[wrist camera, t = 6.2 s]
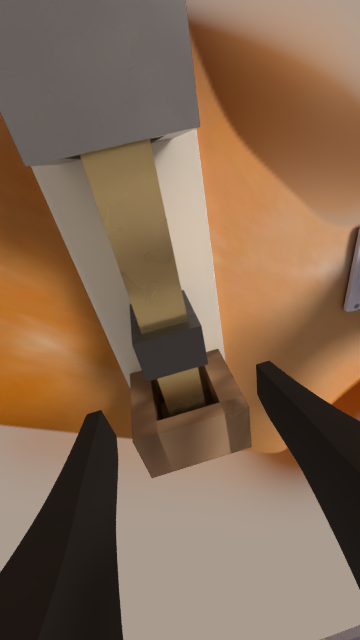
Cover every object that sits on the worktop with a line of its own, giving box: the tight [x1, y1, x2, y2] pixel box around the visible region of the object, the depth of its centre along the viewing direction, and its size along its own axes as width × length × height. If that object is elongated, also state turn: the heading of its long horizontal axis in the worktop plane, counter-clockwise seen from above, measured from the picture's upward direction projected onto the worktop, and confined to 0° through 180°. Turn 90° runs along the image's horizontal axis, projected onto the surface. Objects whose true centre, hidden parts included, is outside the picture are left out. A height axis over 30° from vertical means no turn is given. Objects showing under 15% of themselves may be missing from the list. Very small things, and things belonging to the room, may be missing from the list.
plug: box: [80, 139, 208, 417], centre depth 16 cm, size 4×19×5 cm, turn 11°
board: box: [31, 129, 225, 388], centre depth 17 cm, size 9×31×1 cm, turn 11°
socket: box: [130, 349, 251, 478], centre depth 21 cm, size 8×5×6 cm, turn 101°
